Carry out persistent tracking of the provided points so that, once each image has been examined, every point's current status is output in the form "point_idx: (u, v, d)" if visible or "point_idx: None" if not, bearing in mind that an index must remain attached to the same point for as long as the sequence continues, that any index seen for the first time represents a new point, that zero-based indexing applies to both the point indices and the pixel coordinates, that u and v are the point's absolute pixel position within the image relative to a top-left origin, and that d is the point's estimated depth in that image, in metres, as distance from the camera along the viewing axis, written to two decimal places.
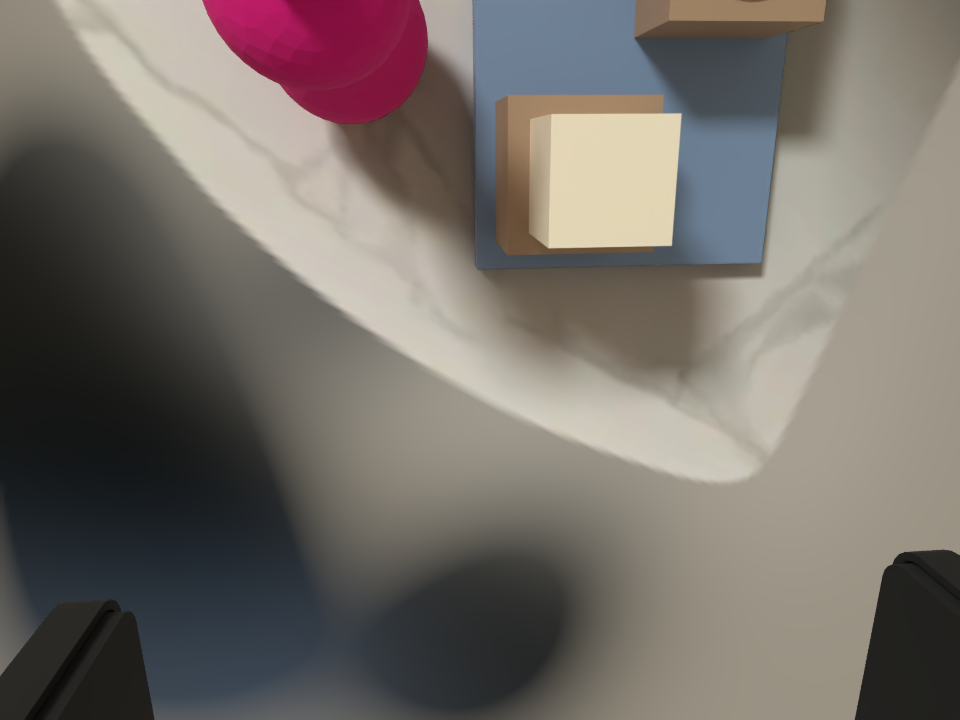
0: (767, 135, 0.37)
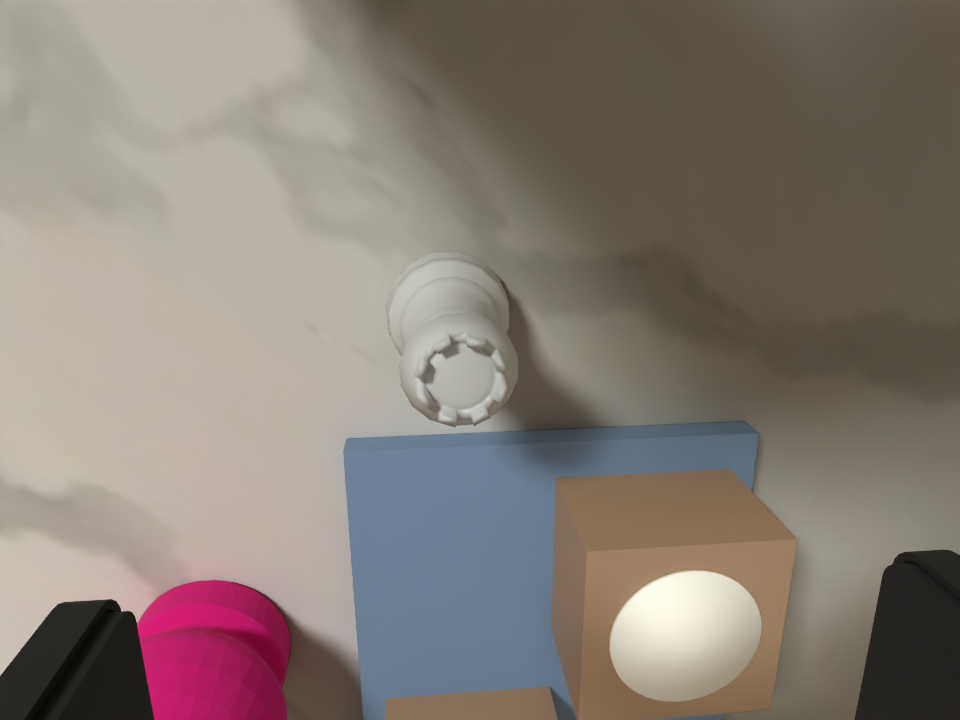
0: None
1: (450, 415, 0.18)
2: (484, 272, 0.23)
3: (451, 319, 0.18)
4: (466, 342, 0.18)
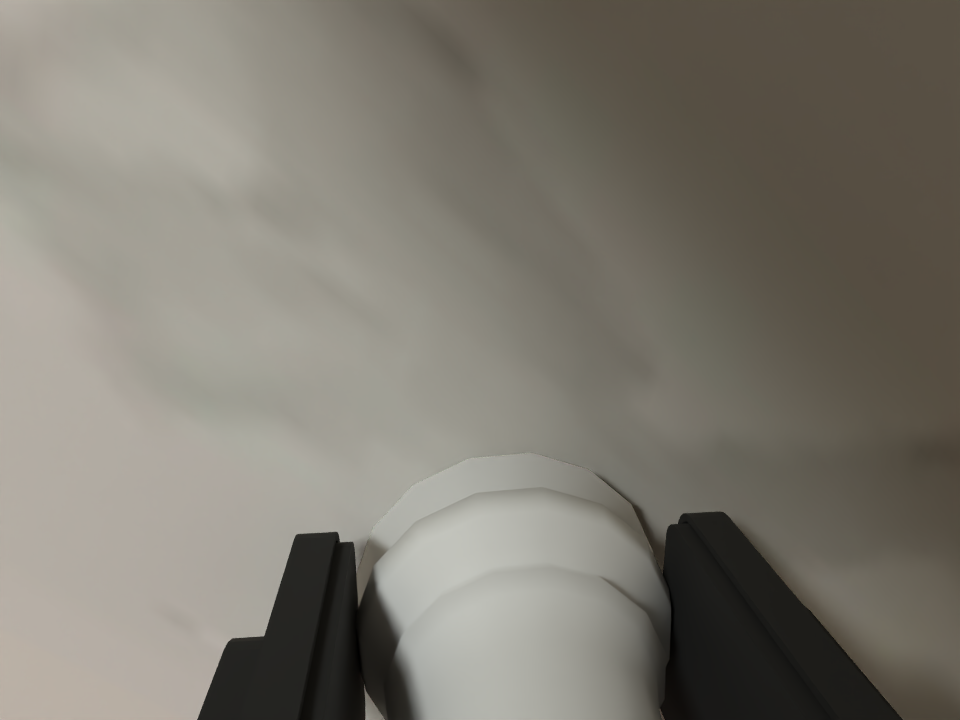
0: None
1: None
2: (615, 525, 0.09)
3: None
4: None
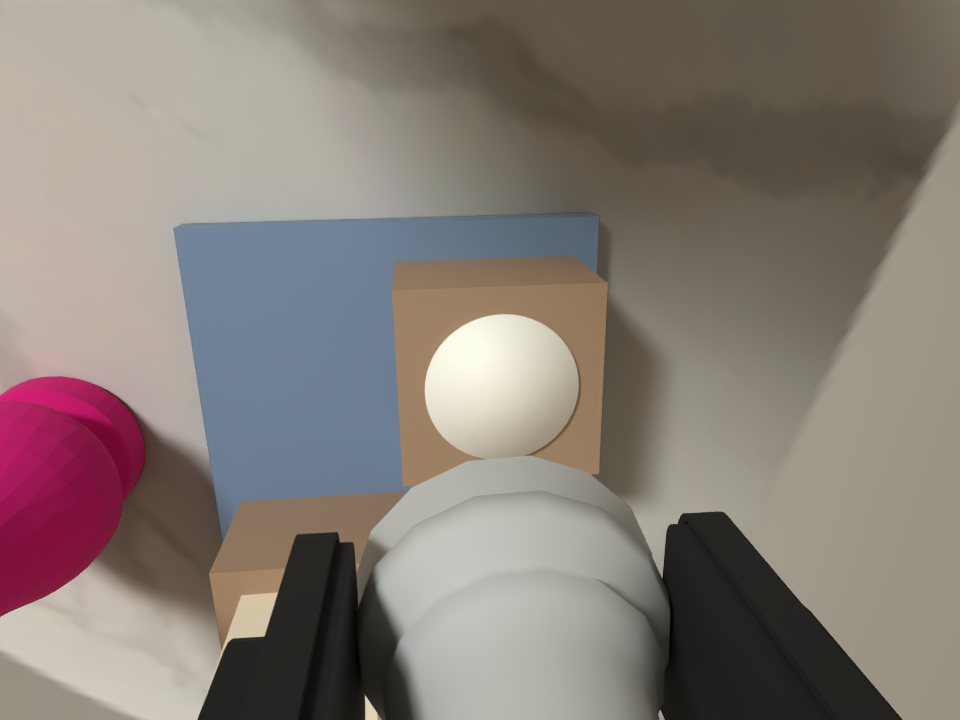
0: None
1: None
2: (614, 528, 0.09)
3: None
4: None
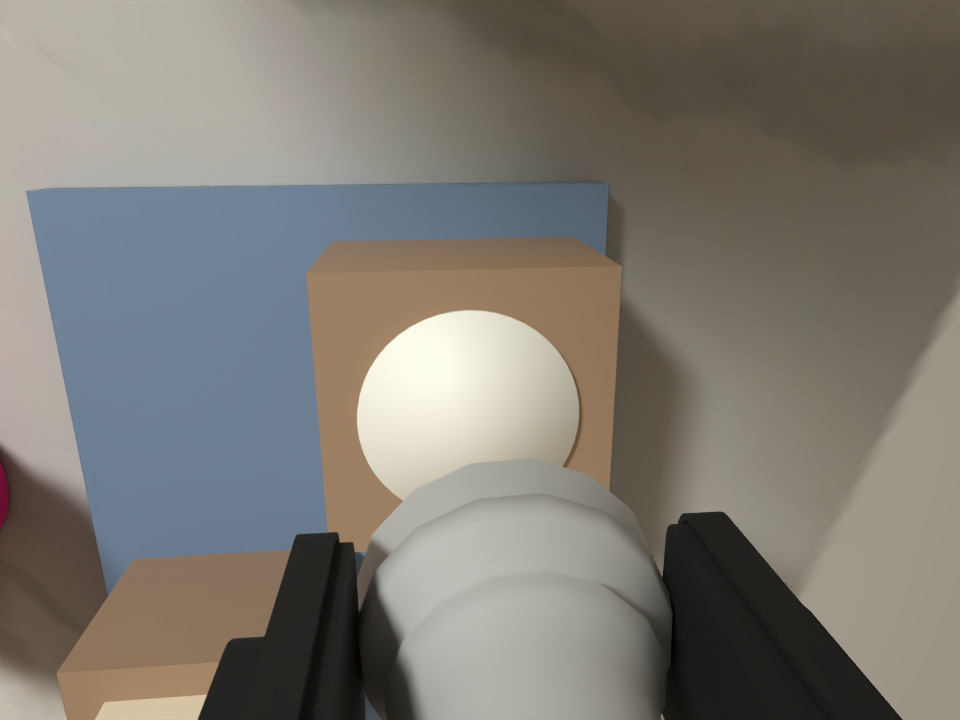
0: None
1: None
2: (616, 531, 0.09)
3: None
4: None
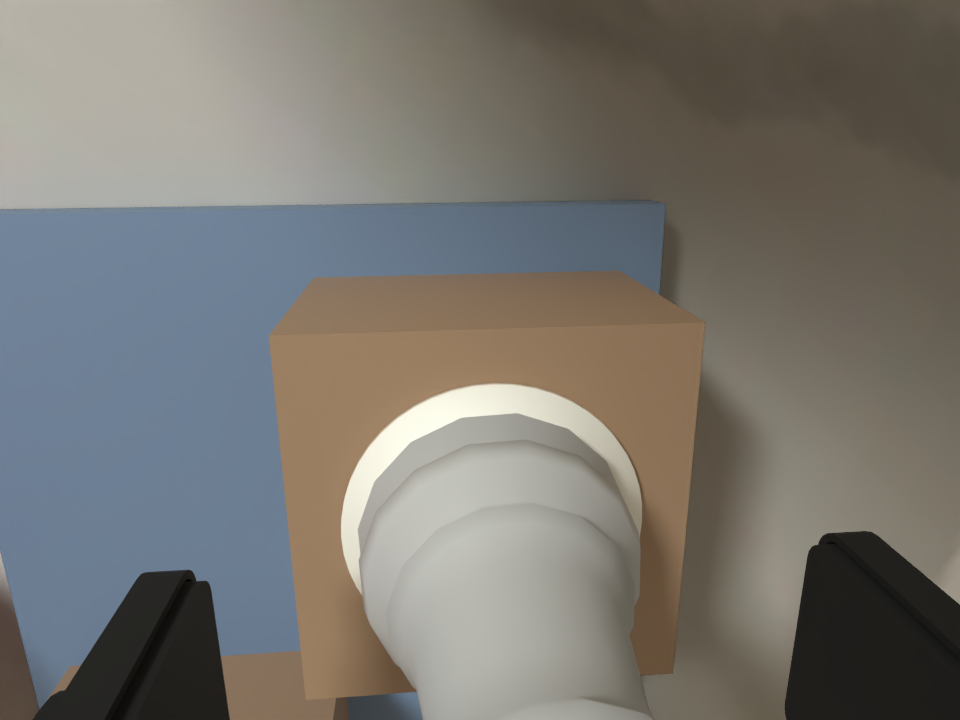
0: None
1: None
2: (590, 473, 0.10)
3: None
4: None
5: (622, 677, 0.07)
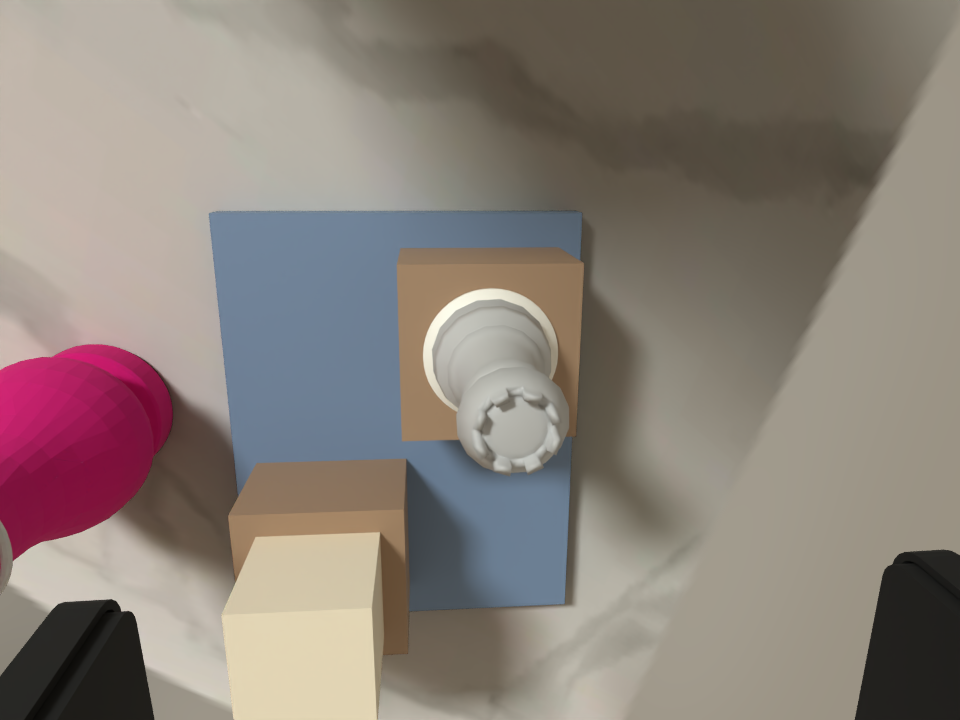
0: (560, 485, 0.34)
1: (506, 465, 0.19)
2: (529, 319, 0.24)
3: (507, 373, 0.19)
4: (522, 396, 0.19)
5: None
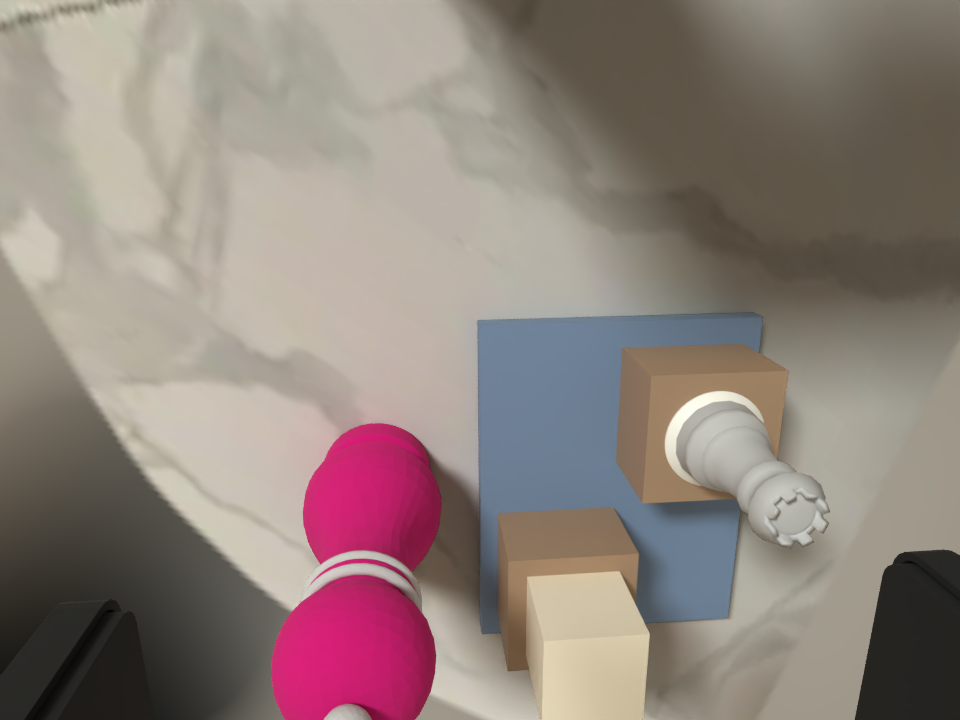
0: (731, 525, 0.43)
1: (788, 541, 0.27)
2: (757, 418, 0.33)
3: (789, 477, 0.27)
4: (802, 494, 0.27)
5: None
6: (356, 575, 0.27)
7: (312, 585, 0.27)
